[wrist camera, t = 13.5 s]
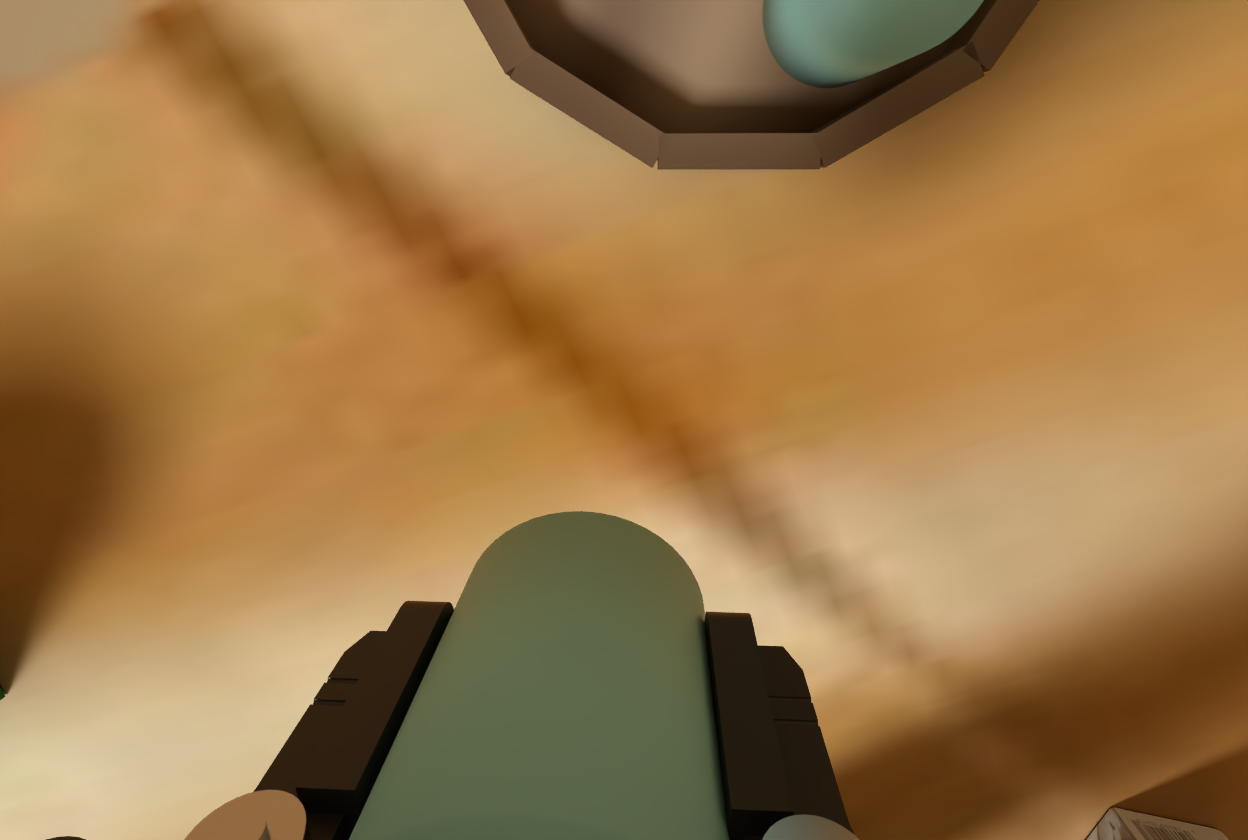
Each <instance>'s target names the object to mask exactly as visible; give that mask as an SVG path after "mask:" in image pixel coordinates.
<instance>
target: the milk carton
mask: <svg viewBox="0 0 1248 840" xmlns="http://www.w3.org/2000/svg"><path fill="white" fill-rule="evenodd" d="M4 697H5V695H4V693H3V691H2V689H1V687H0V700H1V699H3V698H4Z"/></svg>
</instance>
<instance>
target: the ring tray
mask: <svg viewBox="0 0 1248 840" xmlns="http://www.w3.org/2000/svg"><path fill="white" fill-rule="evenodd" d="M1038 1H1039V0H984V1H983V2H982V4H981V5H980V6H979V8H978V9H977V11H976V12H975V13H974V15H973V16H972V17H971V18H970V19H969V20H968V21H967V22H966V23H965V24H964V25H963V26H962V27H961V28H960V29H959V30H958V31H957V32H956V33H954V34H953V35H952V36H951V37H949V38H948V39H947V40H945V41H944V42H942V43H941V44H939V45H937V46H935V47H933V48H932V49H930V50H928V51H926V52H923V53H921V54H919V55H916V56H914V57H912V58H909V59H907V60H905V61H903V62H900V63H898V64H896V65H893V66H891V67H889V68H887V69H884V70H882V71H880V72H877V73H875V74H873V75H871V76H868V77H866V78H864V79H861V80H859V81H857V82H854V83H852V84H849V85H846V86H842V87H837V88H818V87H813V86H809V85H806V84H804V83H801V82H799V81H798V80H796V79H794V78H793V77H791V76H790V75H789V74H787V73H786V72H785V71H784V70H783V69H782V68H781V67H780V65H779V64H778V63H777V61H776V60H775V58H774V57H773V55H772V53H771V51H770V49H769V46H768V44H767V41H766V37H765V33H764V28H763V19H762V15H763V0H464V2H465V4H466V5H467V7H468V9H469V11H470V12H471V14H472V16H473V18H474V19H475V21H476V23H477V25H478V26H479V28H480V30H481V32H482V34H483V35H484V37H485V39H486V41H487V42H488V44H489V46H490V48H491V49H492V51H493V53H494V55H495V56H496V58H497V60H498V62H499V63H500V65H501V67H502V69H503V70H504V72H505V74H507V75H508V76H510V79H512V80H513V81H515V82H516V83H518V84H519V85H521V86H522V87H524V88H525V89H527V90H529V91H530V92H532V93H533V94H535V95H537V96H538V97H540V98H541V99H543V100H545V101H546V102H548V103H549V104H551V105H553V106H554V107H556V108H557V109H559V110H561V111H562V112H564V113H565V114H567V115H569V116H570V117H572V118H573V119H575V120H577V121H578V122H580V123H581V124H583V125H585V126H586V127H588V128H589V129H591V130H593V131H594V132H596V133H597V134H599V135H601V136H602V137H604V138H605V139H607V140H609V141H610V142H612V143H613V144H615V145H617V146H618V147H620V148H621V149H623V150H625V151H626V152H628V153H629V154H631V155H633V156H634V157H636V158H637V159H639V160H641V161H642V162H644V163H645V164H647V165H649V166H650V167H652V168H653V166H654V164H655V162H656V160H657V159H658V169H819V168H821V167H827V166H829V165H831V164H832V163H834V162H836V161H837V160H839V159H841V158H843V157H844V156H846V155H848V154H850V153H851V152H853V151H855V150H856V149H858V148H860V147H862V146H863V145H865V144H867V143H869V142H870V141H872V140H874V139H876V138H877V137H879V136H881V135H882V134H884V133H886V132H888V131H889V130H891V129H893V128H895V127H896V126H898V125H900V124H901V123H903V122H905V121H907V120H908V119H910V118H912V117H914V116H915V115H917V114H919V113H920V112H922V111H924V110H926V109H927V108H929V107H931V106H933V105H934V104H936V103H938V102H940V101H941V100H943V99H945V98H946V97H948V96H950V95H952V94H953V93H955V92H957V91H959V90H960V89H962V88H964V87H965V86H967V85H969V84H971V83H972V82H974V81H976V80H978V79H979V78H981V77H983V76H984V73H983V72H986V71H990V70H991V68H992V67H993V65H994V64H995V63H996V61H997V60H998V58H999V57H1000V55H1001V54H1002V53H1003V51H1004V50H1005V48H1006V47H1007V45H1008V44H1009V43H1010V41H1011V40H1012V38H1013V37H1014V36H1015V34H1016V33H1017V31H1018V30H1019V28H1020V27H1021V26H1022V24H1023V23H1024V21H1025V20H1026V18H1027V17H1028V16H1029V14H1030V13H1031V11H1032V10H1033V9H1034V7H1035V6H1036V4H1037V3H1038Z"/></svg>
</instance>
